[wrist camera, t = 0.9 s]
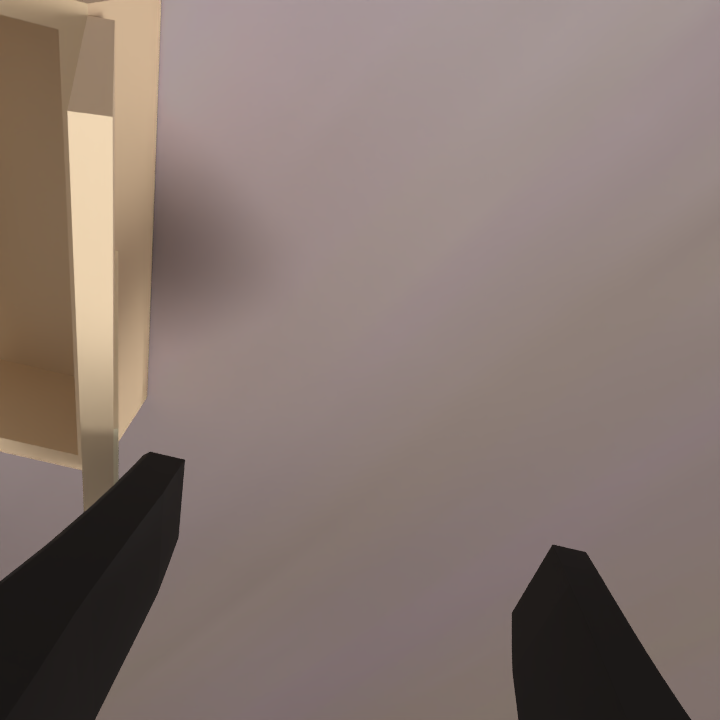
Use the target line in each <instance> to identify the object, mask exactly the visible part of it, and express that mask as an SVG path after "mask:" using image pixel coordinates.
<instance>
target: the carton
mask: <svg viewBox="0 0 720 720" xmlns="http://www.w3.org/2000/svg"><path fill="white" fill-rule="evenodd" d="M87 15H88V16H94V17H99V18H105V19H110V20H115V250H116V251H118V404H119V433H118V442H119V440H120V439H121V437H122V435H123V434H124V432H125V431H126V429H127V428H128V426H129V425H130V423H131V421H132V420H133V418H134V417H135V415H136V414H137V412H138V411H139V409H140V407H141V406H142V404H143V403H144V401H145V400H146V398H147V385H148V357H149V329H150V301H151V273H152V245H153V216H154V188H155V160H156V132H157V104H158V76H159V48H160V20H161V0H0V451H1V452H5V453H9V454H14V455H18V456H22V457H27V458H31V459H36V460H40V461H44V462H49V463H53V464H57V465H62V466H66V467H71V468H75V469H79V470H82V452H81V428H80V404H79V380H78V356H77V332H76V308H75V283H74V259H73V235H72V211H71V187H70V163H69V139H68V115H67V110H68V105H69V101H70V96H71V91H72V87H73V82H74V77H75V72H76V68H77V63H78V58H79V53H80V49H81V44H82V39H83V34H84V30H85V25H86V20H87Z"/></svg>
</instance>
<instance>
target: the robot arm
mask: <svg viewBox="0 0 720 720" xmlns="http://www.w3.org/2000/svg"><path fill="white" fill-rule="evenodd" d="M184 465H185V460H184V459H179V458H175V457H171V456H166V455H162V454H158V453H153V452H149V453H147V454H145V455H143V456H142V457H141V458H140V459H139V460H138V461H137V462H136V464H135V465H134V466H133V467H132V468H131V469H130V470H129V471H128V472H127V473H126V474H125V475H124V476H123V477H121V478H120V479H119V480H118V481H117V482H116V483H115V484H114V485H113V486H112V487H111V488H110V489H109V490H108V491H107V492H106V493H105V494H104V495H103V496H101V497H100V498H99V499H98V500H97V501H96V502H95V503H94V504H93V505H92V506H91V507H90V508H88V509H87V510H86V511H85V512H84V513H83V514H82V515H80V516H79V517H78V518H77V519H76V520H75V521H73V522H72V523H71V524H70V525H69V526H68V527H67V528H65V529H64V530H63V531H62V532H61V533H60V534H59V535H57V536H56V537H55V538H54V539H53V540H52V541H50V542H49V543H48V544H47V545H46V546H44V547H43V548H42V549H41V550H39V551H38V552H37V553H36V554H34V555H33V556H32V557H30V558H29V559H28V560H27V561H25V562H24V563H23V564H22V565H20V566H19V567H18V568H17V569H15V570H14V571H13V572H11V573H10V574H9V575H8V576H6V577H5V578H4V579H3V580H1V581H0V720H95V718H96V716H97V714H98V712H99V710H100V708H101V706H102V704H103V702H104V700H105V698H106V696H107V694H108V692H109V690H110V688H111V686H112V684H113V682H114V680H115V678H116V676H117V674H118V672H119V670H120V668H121V666H122V664H123V662H124V660H125V658H126V656H127V654H128V652H129V650H130V648H131V646H132V644H133V642H134V640H135V638H136V636H137V634H138V632H139V630H140V628H141V626H142V624H143V622H144V620H145V618H146V616H147V614H148V612H149V610H150V608H151V606H152V604H153V602H154V600H155V598H156V596H157V594H158V591H159V589H160V586H161V583H162V581H163V578H164V575H165V573H166V570H167V567H168V565H169V562H170V559H171V557H172V554H173V551H174V548H175V546H176V543H177V540H178V536H179V524H180V512H181V501H182V489H183V477H184ZM512 668H513V679H514V688H515V696H516V703H517V711H518V719H519V720H691V719H690V717H689V716H688V714H687V713H686V712H685V710H684V709H683V707H682V706H681V704H680V703H679V701H678V700H677V698H676V697H675V695H674V694H673V692H672V691H671V689H670V688H669V686H668V685H667V683H666V682H665V680H664V679H663V677H662V676H661V674H660V673H659V671H658V669H657V668H656V666H655V665H654V663H653V662H652V660H651V658H650V657H649V655H648V654H647V652H646V651H645V649H644V647H643V646H642V644H641V642H640V641H639V639H638V638H637V636H636V634H635V633H634V631H633V630H632V628H631V626H630V625H629V623H628V621H627V620H626V618H625V616H624V615H623V613H622V611H621V610H620V608H619V606H618V605H617V603H616V601H615V600H614V598H613V596H612V595H611V593H610V591H609V590H608V588H607V586H606V585H605V583H604V581H603V580H602V578H601V576H600V575H599V573H598V571H597V570H596V568H595V566H594V565H593V563H592V561H591V560H590V558H589V556H588V555H587V553H586V552H583V551H578V550H574V549H570V548H565V547H561V546H557V545H552V546H551V548H550V550H549V551H548V553H547V555H546V557H545V558H544V560H543V562H542V563H541V565H540V567H539V568H538V570H537V572H536V573H535V575H534V577H533V578H532V580H531V582H530V583H529V585H528V587H527V588H526V590H525V592H524V593H523V595H522V597H521V599H520V600H519V602H518V604H517V605H516V607H515V609H514V610H513V612H512Z"/></svg>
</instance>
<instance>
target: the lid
mask: <svg viewBox="0 0 720 720" xmlns="http://www.w3.org/2000/svg"><path fill="white" fill-rule="evenodd" d="M67 115H68V139H69V163H70V187H71V211H72V235H73V259H74V283H75V308H76V332H77V356H78V380H79V404H80V428H81V452H82V476H83V501H84V512H85V511H86V510H87V509H88V508H90V507H91V506H92V505H93V504H94V503H95V502H96V501H97V500H98V499H99V498H100V497H101V496H103V495H104V494H105V493H106V492H107V491H108V490H109V489H110V488H111V487H112V486H113V485H114V484H115V483H116V482H117V481H118V433H119V404H118V251H116V250H115V20H110V19H105V18H99V17H94V16H88V15H87V20H86V25H85V30H84V34H83V39H82V44H81V49H80V53H79V58H78V63H77V68H76V72H75V77H74V82H73V87H72V91H71V96H70V101H69V105H68V110H67Z"/></svg>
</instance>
